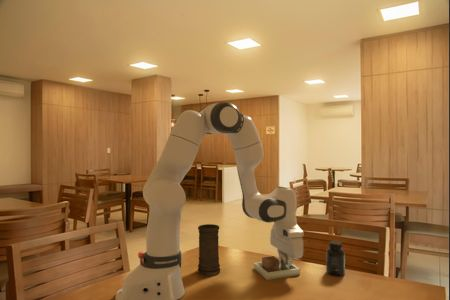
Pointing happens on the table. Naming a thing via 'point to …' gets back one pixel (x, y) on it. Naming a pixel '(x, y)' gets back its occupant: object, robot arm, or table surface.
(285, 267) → the metal cylinder
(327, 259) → the supplement bottle
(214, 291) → the table surface
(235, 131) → the robot arm
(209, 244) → the container
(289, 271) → the tray
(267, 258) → the walnut block
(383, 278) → the table surface
